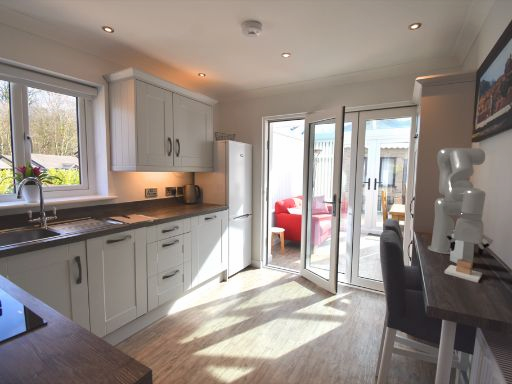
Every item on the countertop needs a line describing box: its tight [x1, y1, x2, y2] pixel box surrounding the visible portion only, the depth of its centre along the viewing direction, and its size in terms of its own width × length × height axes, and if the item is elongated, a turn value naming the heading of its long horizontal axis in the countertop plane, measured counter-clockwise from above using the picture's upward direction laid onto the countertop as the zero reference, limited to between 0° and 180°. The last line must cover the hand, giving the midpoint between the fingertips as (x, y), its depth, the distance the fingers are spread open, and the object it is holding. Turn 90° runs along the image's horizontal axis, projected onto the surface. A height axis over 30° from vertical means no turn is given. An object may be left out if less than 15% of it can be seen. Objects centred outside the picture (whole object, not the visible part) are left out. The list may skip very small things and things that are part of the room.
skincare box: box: [449, 233, 475, 264], centre depth 135 cm, size 8×6×15 cm
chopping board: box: [444, 264, 483, 284], centre depth 121 cm, size 12×12×1 cm
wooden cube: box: [455, 258, 474, 275], centre depth 121 cm, size 5×5×5 cm
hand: (465, 253), depth 121 cm, fingers open, 9 cm apart
